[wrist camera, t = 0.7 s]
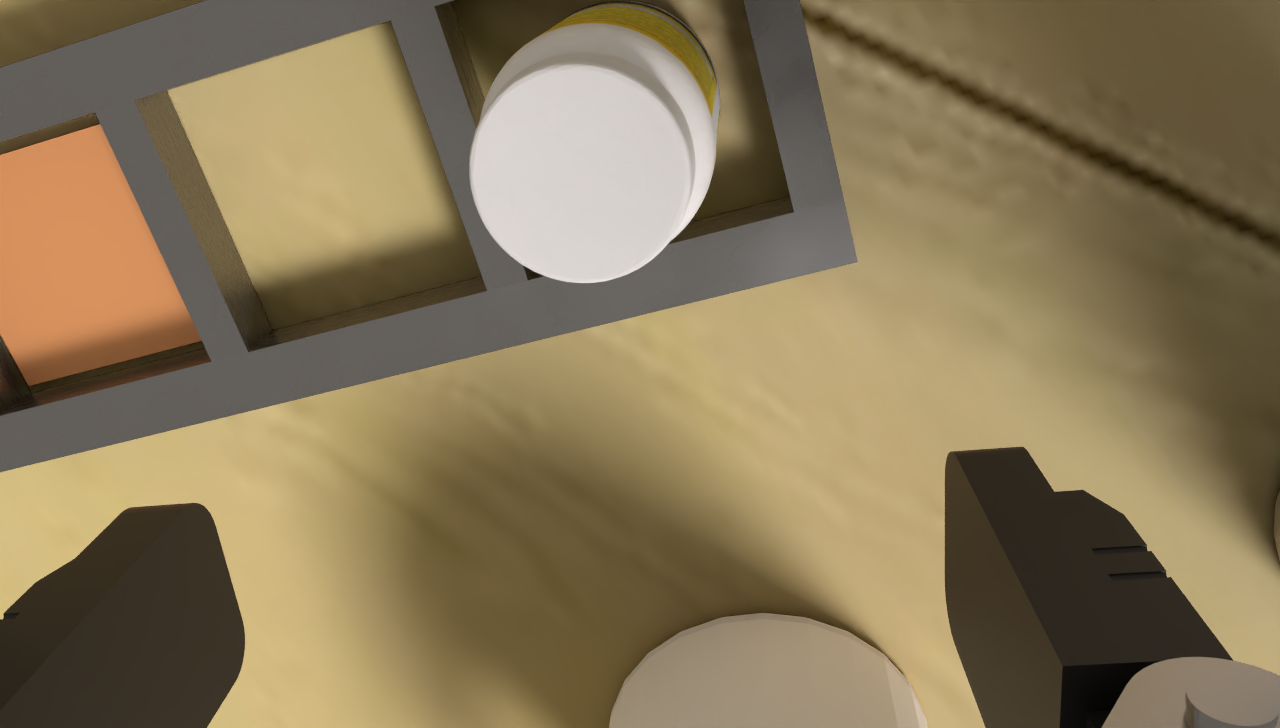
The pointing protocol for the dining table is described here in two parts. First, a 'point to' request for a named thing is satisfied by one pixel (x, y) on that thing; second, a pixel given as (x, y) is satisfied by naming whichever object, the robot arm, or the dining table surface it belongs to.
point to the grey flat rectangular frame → (396, 329)
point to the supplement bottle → (597, 142)
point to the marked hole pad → (80, 263)
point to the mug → (766, 679)
